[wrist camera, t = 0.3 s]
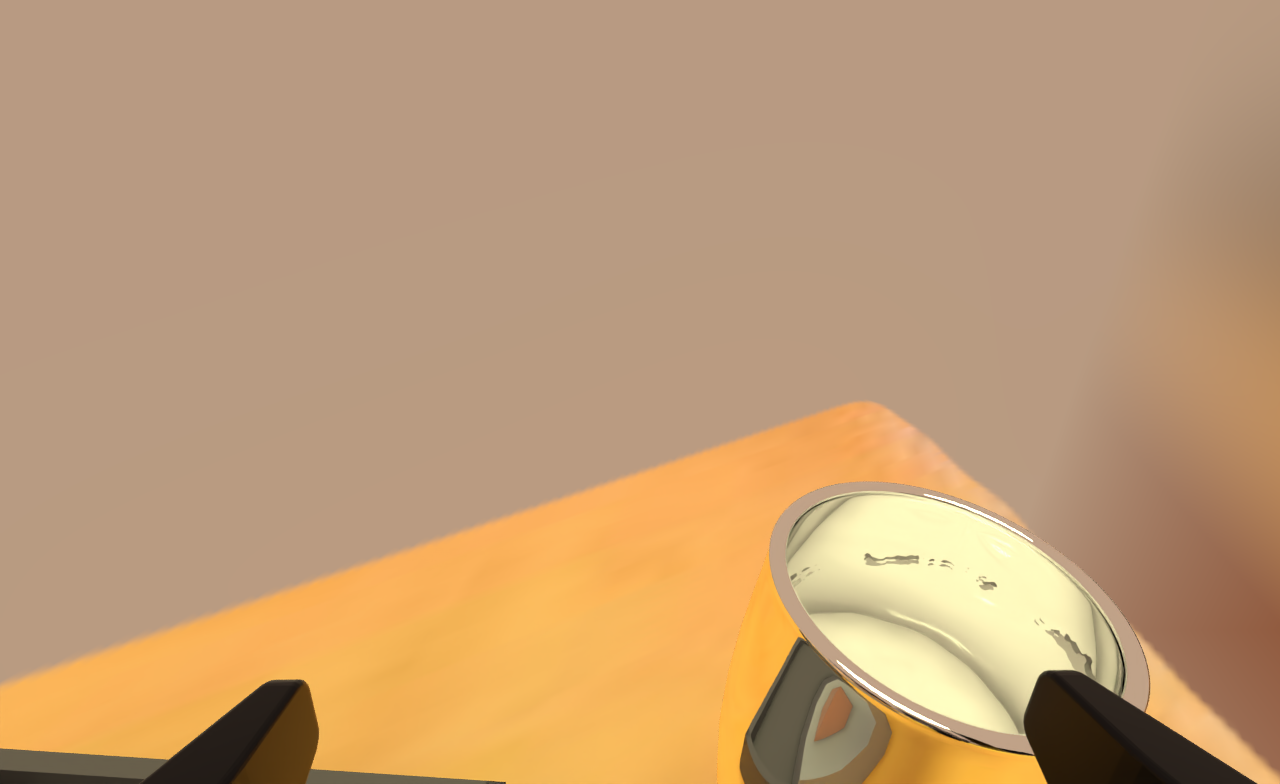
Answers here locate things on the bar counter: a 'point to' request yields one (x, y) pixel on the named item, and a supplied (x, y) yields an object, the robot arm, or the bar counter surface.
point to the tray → (85, 780)
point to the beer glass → (908, 643)
